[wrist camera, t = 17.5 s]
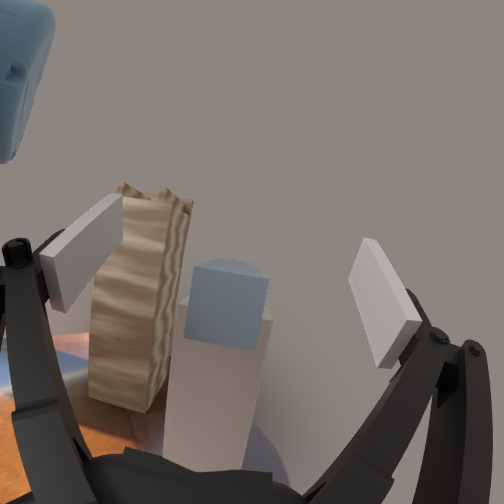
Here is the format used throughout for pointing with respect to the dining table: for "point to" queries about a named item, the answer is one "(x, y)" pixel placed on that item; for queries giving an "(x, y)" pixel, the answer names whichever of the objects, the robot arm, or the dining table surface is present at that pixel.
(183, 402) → the white block
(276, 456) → the dining table surface
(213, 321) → the blue-grey bar
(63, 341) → the dining table surface
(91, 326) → the tall open-topped box
